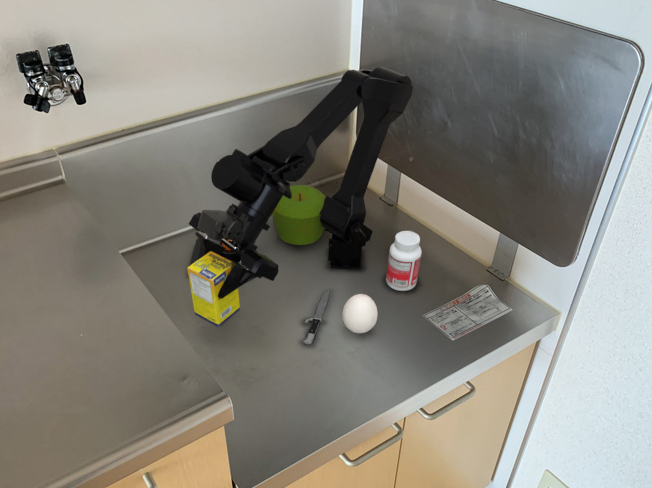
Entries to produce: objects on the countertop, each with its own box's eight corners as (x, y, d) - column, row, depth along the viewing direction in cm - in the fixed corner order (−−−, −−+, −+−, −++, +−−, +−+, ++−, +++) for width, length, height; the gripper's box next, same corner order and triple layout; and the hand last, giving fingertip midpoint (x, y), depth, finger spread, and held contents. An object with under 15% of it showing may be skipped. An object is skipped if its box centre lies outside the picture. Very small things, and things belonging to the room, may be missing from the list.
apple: (335, 247, 132) (337, 203, 125) (281, 257, 130) (280, 212, 122) (316, 216, 141) (318, 173, 134) (265, 225, 139) (264, 181, 131)
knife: (297, 343, 110) (313, 345, 110) (297, 340, 110) (313, 342, 109) (317, 289, 122) (332, 291, 121) (317, 286, 121) (332, 288, 120)
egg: (340, 317, 116) (342, 285, 110) (374, 317, 115) (378, 285, 110) (341, 341, 111) (344, 308, 106) (377, 341, 111) (381, 309, 105)
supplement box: (241, 309, 110) (236, 262, 103) (218, 328, 107) (212, 280, 99) (216, 297, 113) (210, 249, 106) (194, 314, 110) (186, 267, 102)
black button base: (252, 248, 132) (251, 233, 129) (248, 277, 125) (247, 262, 122) (197, 247, 133) (195, 232, 130) (189, 276, 125) (187, 260, 122)
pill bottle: (407, 270, 126) (414, 225, 119) (422, 288, 122) (430, 243, 115) (380, 276, 125) (385, 232, 117) (394, 295, 120) (400, 250, 113)
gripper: (191, 170, 102) (144, 250, 104) (261, 217, 91) (208, 305, 93) (232, 194, 111) (189, 267, 113) (301, 239, 100) (252, 319, 102)
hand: (207, 287), depth 105 cm, fingers closed on supplement box, 6 cm apart
